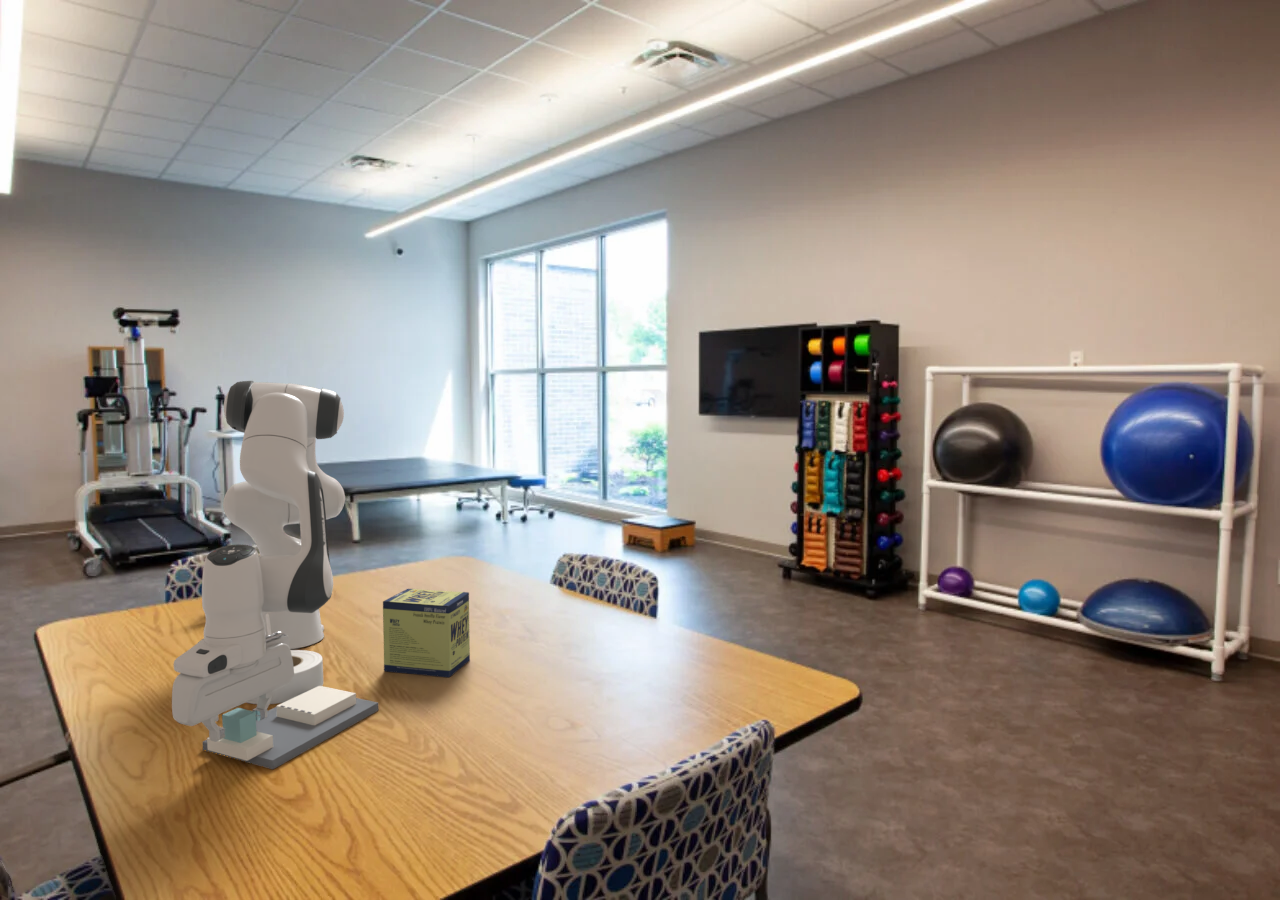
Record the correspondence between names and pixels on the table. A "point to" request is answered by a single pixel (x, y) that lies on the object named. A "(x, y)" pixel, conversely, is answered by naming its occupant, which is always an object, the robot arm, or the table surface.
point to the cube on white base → (241, 736)
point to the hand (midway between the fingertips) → (239, 728)
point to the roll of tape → (299, 677)
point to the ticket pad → (316, 705)
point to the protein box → (426, 632)
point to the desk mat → (302, 733)
